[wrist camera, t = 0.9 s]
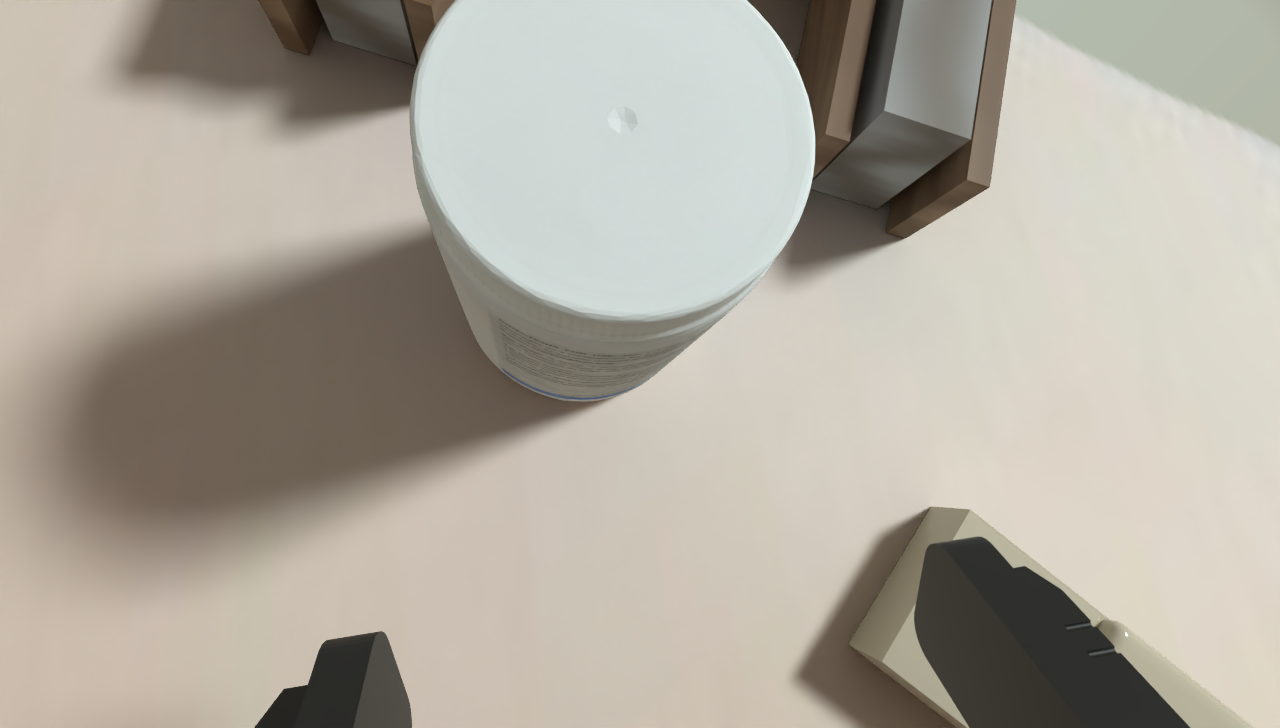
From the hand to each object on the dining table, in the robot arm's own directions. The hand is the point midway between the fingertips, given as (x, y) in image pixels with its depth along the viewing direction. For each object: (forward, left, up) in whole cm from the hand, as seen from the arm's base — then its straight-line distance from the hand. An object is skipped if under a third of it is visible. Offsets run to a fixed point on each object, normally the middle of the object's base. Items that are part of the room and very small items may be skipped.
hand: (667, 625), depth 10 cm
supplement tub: (-2, +10, -18) cm, 21 cm away
